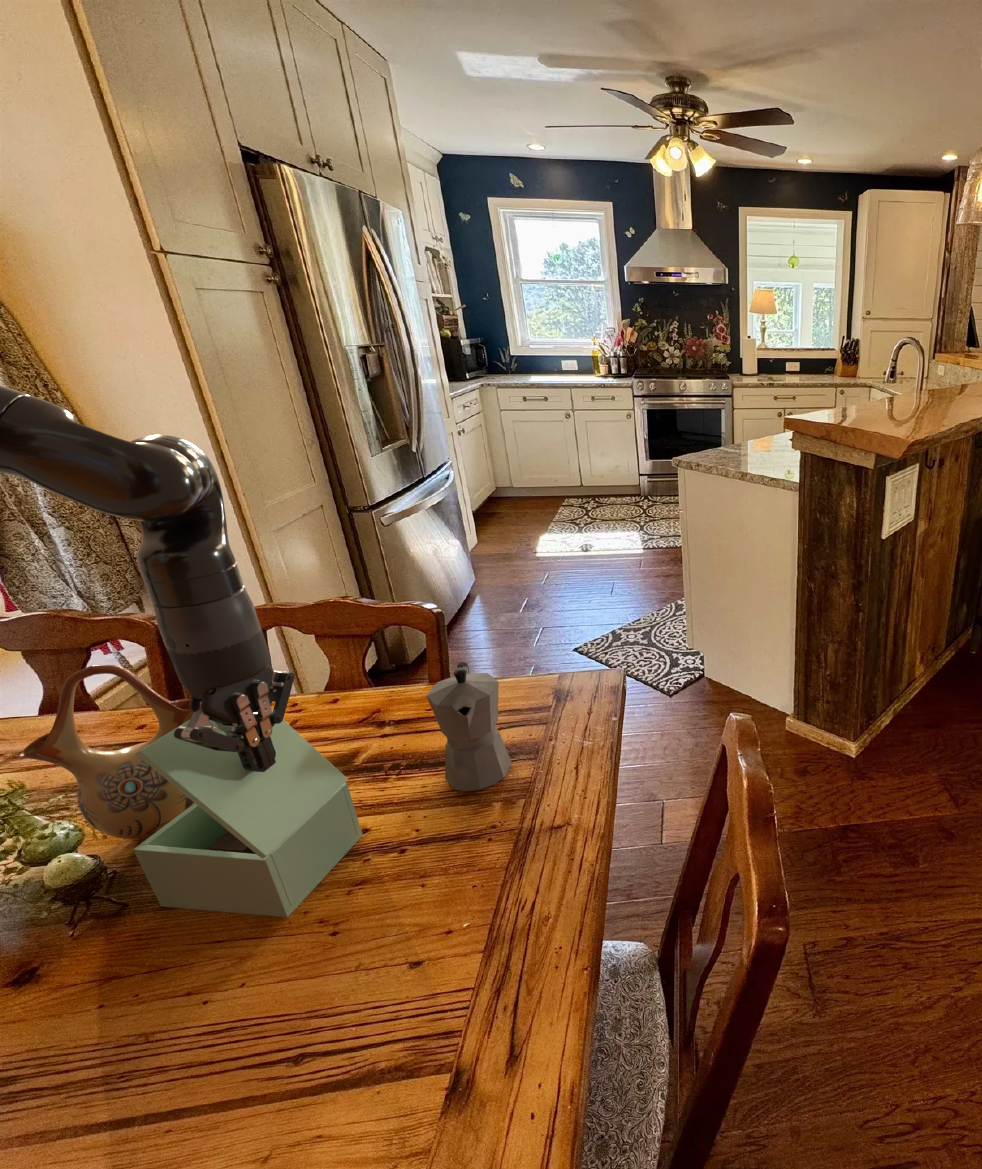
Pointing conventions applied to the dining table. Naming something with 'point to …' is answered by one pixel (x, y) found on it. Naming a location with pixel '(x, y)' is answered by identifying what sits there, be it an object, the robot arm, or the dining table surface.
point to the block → (230, 844)
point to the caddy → (246, 861)
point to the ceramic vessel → (115, 765)
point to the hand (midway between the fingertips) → (262, 767)
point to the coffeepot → (470, 729)
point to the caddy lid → (249, 784)
